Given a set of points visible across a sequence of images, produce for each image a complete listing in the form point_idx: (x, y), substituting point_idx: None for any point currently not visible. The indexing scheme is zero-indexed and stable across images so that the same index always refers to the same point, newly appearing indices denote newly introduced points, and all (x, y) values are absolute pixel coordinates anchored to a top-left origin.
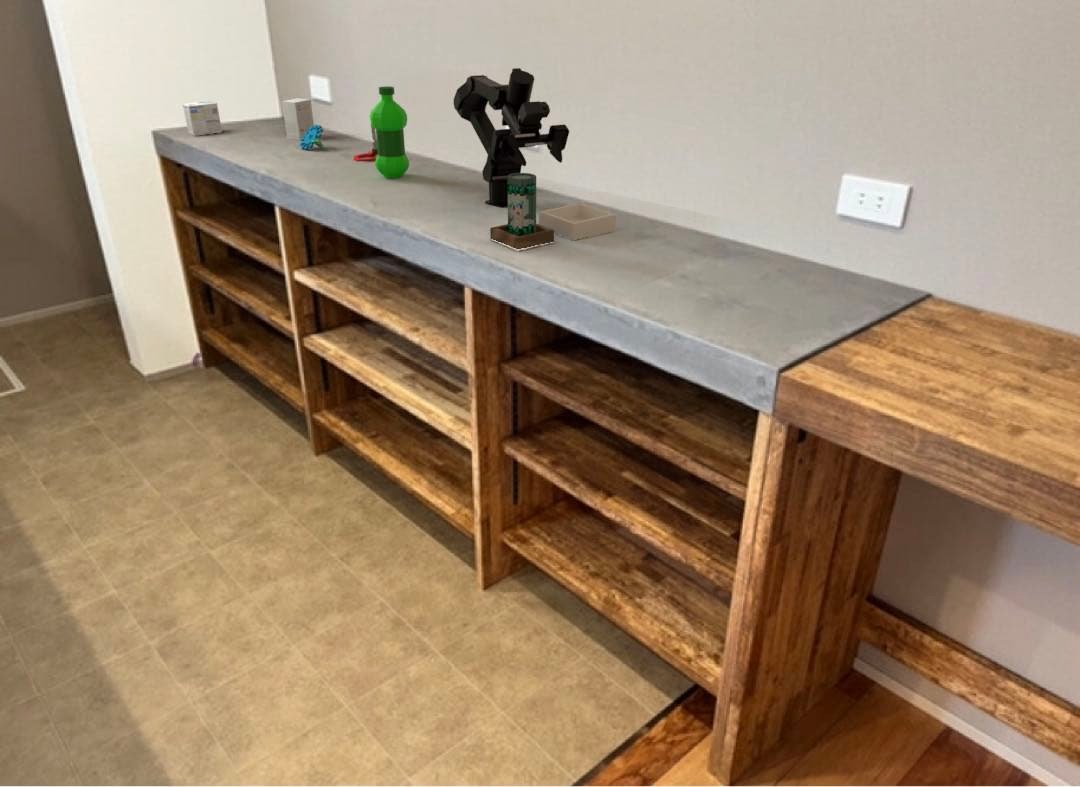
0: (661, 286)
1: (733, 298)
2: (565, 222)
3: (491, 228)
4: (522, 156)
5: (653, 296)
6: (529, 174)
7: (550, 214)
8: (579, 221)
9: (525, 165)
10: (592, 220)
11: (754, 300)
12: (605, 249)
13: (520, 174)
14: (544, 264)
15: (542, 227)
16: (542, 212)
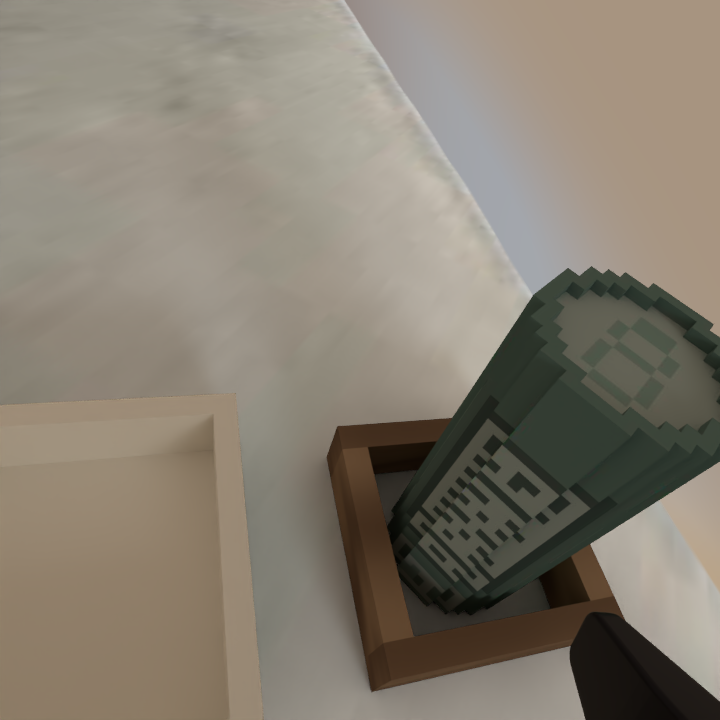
0: (267, 107)
1: (190, 34)
2: (239, 458)
3: (621, 614)
4: (698, 716)
5: (318, 97)
6: (573, 364)
7: (234, 624)
8: (180, 411)
9: (578, 639)
10: (95, 403)
11: (165, 17)
12: (191, 307)
13: (643, 426)
14: (456, 309)
15: (368, 491)
16: (254, 709)
